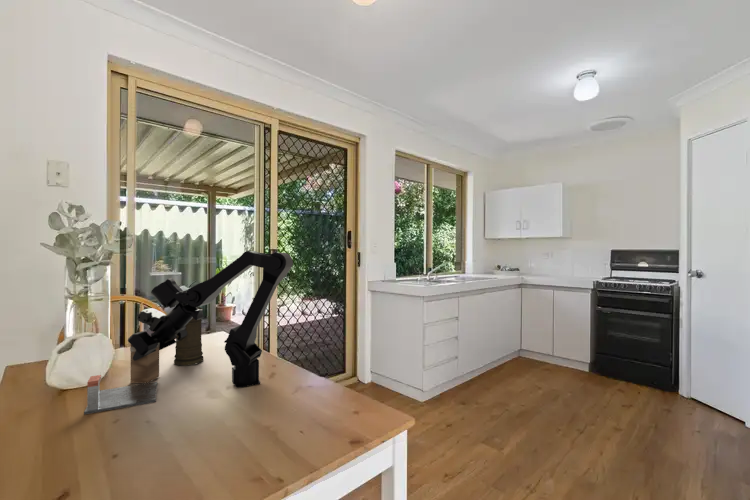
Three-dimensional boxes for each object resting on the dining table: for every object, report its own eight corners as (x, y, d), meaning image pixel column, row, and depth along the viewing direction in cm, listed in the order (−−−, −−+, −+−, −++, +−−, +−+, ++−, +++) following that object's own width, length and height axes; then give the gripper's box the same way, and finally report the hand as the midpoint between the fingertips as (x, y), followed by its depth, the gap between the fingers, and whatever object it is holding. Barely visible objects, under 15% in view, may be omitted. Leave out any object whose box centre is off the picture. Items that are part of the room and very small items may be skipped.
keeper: (156, 383, 101) (156, 358, 101) (155, 401, 89) (155, 372, 89) (94, 393, 94) (94, 366, 94) (84, 414, 82) (84, 383, 82)
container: (195, 366, 117) (195, 310, 117) (167, 365, 117) (168, 310, 117) (208, 357, 126) (208, 306, 126) (183, 357, 126) (183, 306, 126)
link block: (159, 376, 106) (159, 339, 107) (147, 383, 101) (147, 344, 101) (142, 376, 107) (143, 339, 107) (130, 382, 102) (130, 343, 102)
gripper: (178, 295, 113) (144, 329, 114) (134, 304, 95) (95, 345, 95) (202, 320, 113) (168, 355, 113) (163, 334, 94) (123, 375, 95)
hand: (140, 356), depth 104 cm, fingers closed on link block, 5 cm apart
